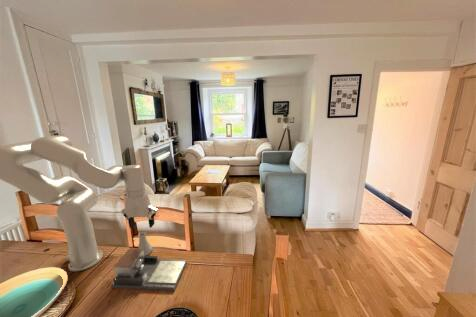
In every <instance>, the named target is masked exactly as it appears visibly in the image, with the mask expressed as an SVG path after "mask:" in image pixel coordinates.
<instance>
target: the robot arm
mask: <svg viewBox="0 0 476 317" xmlns="http://www.w3.org/2000/svg"><path fill="white" fill-rule="evenodd" d="M87 158H88V155H87V153H86V151H84V150H82V149H79V148H77V147H74V146H73V143H72V141H71V139H69V138H68V137H66V136H64V135H57V134H56V135H50V136H49V135H48V136H42V137H39V138H36V139H34V140H29V141H25V142H24V141H23V142H16V143H9V144H4V145H1V146H0V180H1V181H2V182H4V183H7V184H10V185H11V186H13V187H15V188H17V189H18V190H20V191H22V192H23V193H25V194H26V195H28V196H30V197H32V198H33V199H35V200H36V201H39V202H41V203H43V204H44V205H51V204H55V203H57V202H59V201H61V200H62V199H64V198H65V199H64V200H63V201H62V202H61V203H60V204H59V205H58V206H57V209H56V216H57V218H58V220H59V221H60V223H61V225H62V228H63V231H64V236H65V240H66V243H67V245H68V246H67V247H68V252H66V254H67V255H66V256H64V258H65V259H67V260H69V263H68V265H67V266H68V270H69V271H70V272H80V271H85V270H87V269H89V268H91V267H93V266H95V265H96V264H98V263H99V262H100V261H101V260H102V258H103V256H104V253H103V251H102V250H100V249H98V244H97V241H96V235H95V230H94V225H93V221H92V219H91V218H90V217H89V216H88V213H89V211H90V210H91V209H92V208H93V207H95V205H96V204H97V202H98V200H99V199H98V195H97V193H96V191H94V190H93V189H91V188H90V187H88V186H87V185H85V184H83V183H82V182H81V181H79V180H77V179H76V178H74V177H73V176H69V175H62V174H60V175H58V176H55V177H53V178H51V177H49V176H47V175H45V174H43V172H41V171H39V170H37V169H34V168H31V167H27V166H24V165H26V164H29V163H32V162H37V161H40V160H46V161H48V162H51V163H54V164H57V165H59V166H61V167H64V168H65V169H68V170H71V171H72V172H73V173H74V175H76V176H77V177H78V178H79V179H80V180H82V181H83V182H85V183H86V184H89V185H92V186H93V187H97V188H100V189H105V190H106V189H107V190H110V189H112V188H115V187H116V186H118V184H120V183H122V182H124V186H125V187H124V188H125V189H124V194H126V196H125V199H124V200H125V201H124V206H125V207H124V208H123V209H121V210H120V212H121V214H123V217H125V219H126V221H128V226H129V229H131V228H132V227H134V226H135V224H136V222H135V218H146V217H147V218H148V226H149V227H148V228H152V227H153V226H154V225H155V223H156V222H155V217H156V216H157V214H158V212H159V209H158V208H156V207H154V206H152V203H151V200H150V197H149V195H148V193H147V191H146V187H145V179H144V173H143V168H142V166H141V165H139V164H130V165H129V164H128V165H111V166H110V167H108V168H106V169H103V168H100V167H97V166H96V165H93V164H92V163H91V162H89V160H88V159H87Z"/></svg>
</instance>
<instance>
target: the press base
mask: <svg viewBox="0 0 476 317" xmlns="http://www.w3.org/2000/svg"><path fill="white" fill-rule="evenodd" d="M144 257H145V262H144V266H143V268H142V269H141V270H139V271H138V272H137V273H136V275H135V276H134V278H126V277H116V276H115V277H114V278H113V280H112V281H113V282H112V283H110V287H111V288H112V289H124V290H125V289H127V290H129V289H130V290H149V291H150V290H151V291H166V292H167V291H168V292H169V291H170V292H171V291H172V292H175V290H176V288H177V285H178V284H179V281H180V279H181V277H182V274H183V272H184V270H185V268H186V265H187V264H188V263H187V259H165V258H162V259H161V258H160V259H159V258H158V255H148V256H144Z"/></svg>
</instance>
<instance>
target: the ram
mask: <svg viewBox="0 0 476 317" xmlns="http://www.w3.org/2000/svg"><path fill="white" fill-rule="evenodd" d="M144 262H145V257H144V248H138V247H137V248H136V247H129V248H128V250H126V251H125V253H124V254H123V255H122V256H121V257H120V258H119V260H117V262H116V263H115V264H114V265H113V267H114V272H115V277H126V278H134V276H135V275H136V273H137V272H138V271H139V270H141V269H142V268H143V266H144Z"/></svg>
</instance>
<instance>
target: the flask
mask: <svg viewBox="0 0 476 317" xmlns="http://www.w3.org/2000/svg"><path fill="white" fill-rule="evenodd" d="M146 234H147V232H144V231H143V232H139V233H138V238H139V240H138V247H137V248H144V256H150V254H152V252H153V250H154V248H153V246H152V245H151V244H150V242H149V241H148V239H147V235H146Z"/></svg>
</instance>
